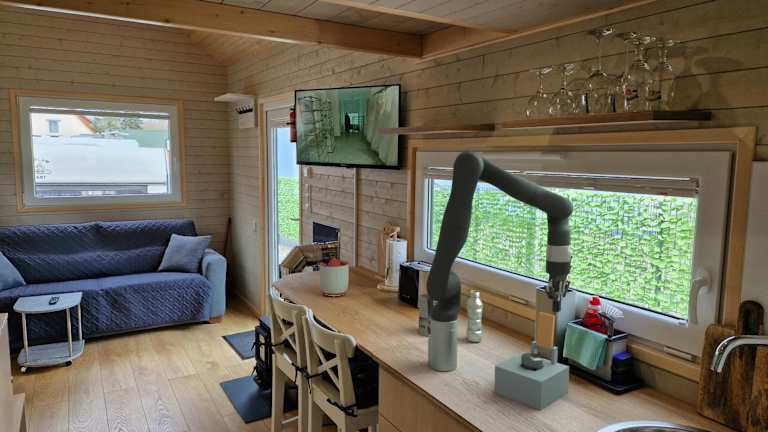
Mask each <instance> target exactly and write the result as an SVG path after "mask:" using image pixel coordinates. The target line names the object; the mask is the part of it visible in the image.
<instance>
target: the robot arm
mask: <svg viewBox="0 0 768 432" xmlns="http://www.w3.org/2000/svg"><path fill="white" fill-rule="evenodd" d="M452 167H453V169H452V171H453V172H452V180H451V181H452V182H451V188H450V189H451V190H450V194H449V197H448V200H447V203H446V206H445V209H444V212H443V216H442V219H441V224H440V229H439V235H438V240H437V245H436V248H435V253H434V257H433V260H432V264H431V267H430V270H429V273H428V276H427V280H426V284H425V285H426V286H425V290H426V294H428V296H429V297H430V299H432V300H433V301H438V302H437V304H436V305H435V306H434V307H433V308H432V310H431V336H430V337H428V339H427V365H428V366H430V368H432V369H433V370H434V371H435V370H436V371H439V372H450V371H454V370H455V369H457V368H458V367H457V366H458V315H459V312H460V310H461V301H462V300H461V299H462V282H461V280H460V277H459V276H458V274H457V273H455V271H452V267H453V264H454V262H455V260H456V259H457V258H458V256H459V254H460V252H462V250H463V248H464V246H465V244H466V242H467V239H468V236H469V233H470V232H469V231H470V227H471V223H472V222H471V221H472V212H473V201H474V196H475V192H476V189H477V186H478V183H479V181H481V182H484V183H486V184H489V185H491V186H493V187H495V188H496V189H498V190H500V192H503V193H504V194H505V195H508V196H509V197H510V198H512V199H515V200H517V201H518V202H520V203H523V204H524V205H525V204H526V205H528V206H530V207H532V208H534V209H535V208H536V209H538V210H540V212H543V213H545V214H546V221H547V236H546V239H547V242H546V250H545V273H547V274H548V279H547V280H548V281H547V282H548V284H547V285H546V284H545V285H543V289H544V292H545V293H546V296H547V298H548V300H551V302H552V305H551V307H552V308H551V309H552V312H553V313H560V312H561V311H562V301H563V300H564V299H563V298H566V296H567V293H568V290H569V287H570V285H571V280H568V279H567V278H568V277H567V276H569V275H570V274H571V266H572V265H571V263H572V261H571V259H572V257H571V256H572V251H571V236H572V235H571V232H572V231H571V228H570V225H569V221H570V217H571V215H572V214H573V212H574V204H573V202H572V200H570V199H569V198H567V197H565V196H563V195H560V194H558V193H556V192H553V191H550V190H548V189H546V188H545V187H543V186H541V185H539V184H537V183H535V182H533V181H530V180H528V179H526V178H523V177H521V176H519V175H516V174H514V173H512V172H510V171H507V170H505V169H503V168H501V167H500V166H498V165H495V164H494V163H493V162H491V161H489V159H486V158H485V157H483V156H482V155H481V154H479V153H478V152H476V151H475V150H470V149H469V150H468V149H467V150H464V151H462V152H460V153H458V155H457V157H456V158H455V160H454V161H453V166H452Z"/></svg>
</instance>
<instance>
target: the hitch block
mask: <svg viewBox="0 0 768 432" xmlns="http://www.w3.org/2000/svg"><path fill="white" fill-rule="evenodd" d="M536 345H537V340H534V341H532V342H531V349H530V353H535V354H538V349H536ZM558 350H559V349H558V346H553V348H551V353H550V354H551V355H550V359H546V358H543V368H542V369H540V370H537V371H533V370H528V369H525V368H523V367H522V366H521V355H522V354H524V353H525V352H522V353H519V354H518V355H515V356H513V357H511V358H509V359H506V360H504V361H502V362H500V363H498V364H496V365H495V366H494V390H493V392H494V393H496V394H498V395H501V396H503V397H505V398H509V399H511V400H514V401H517V402H519V403H521V404H524V405H526V406H529V407H532V408H534V409H537V410H539V411H541V410H543V409H545V408H547V407H548V406H549V404H550V405H551V404H553V403H554V401H555V402H556V401H558V400H559V399H562V398H563V397H564V396H566V395H568V394H569V382H570V379H569V377H570V366H569V365H565V364H562V363H559V362H558V355H559V353H558Z"/></svg>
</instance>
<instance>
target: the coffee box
mask: <svg viewBox="0 0 768 432" xmlns="http://www.w3.org/2000/svg"><path fill="white" fill-rule="evenodd" d="M437 302H438V301H433V300H432V299H430V297H429V296H428V294H427V293H425V294H424V293H423V294H420V295H419V296H418V334H419V335H422V336H425V337H428V338H430V337H431V310H432V308H433V307H434V306H435V305H436V304H437Z"/></svg>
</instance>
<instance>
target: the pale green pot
mask: <svg viewBox="0 0 768 432" xmlns="http://www.w3.org/2000/svg"><path fill="white" fill-rule="evenodd" d="M318 264H319V265H318V266H319V285H320V288H321V292H322V295H323V294H327V295H342V294H345V293H346V294H347V291H348V287H349V279H350V278H349V277H350V275H349V274H350V272H349V271H350V270H349V264H350V262H349V261H346V260H338V258H336V257H332V258H331V259H330V260H329V262H328V263H327V264H325V262H323V261H321V262H318ZM346 294H345V295H346Z"/></svg>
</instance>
